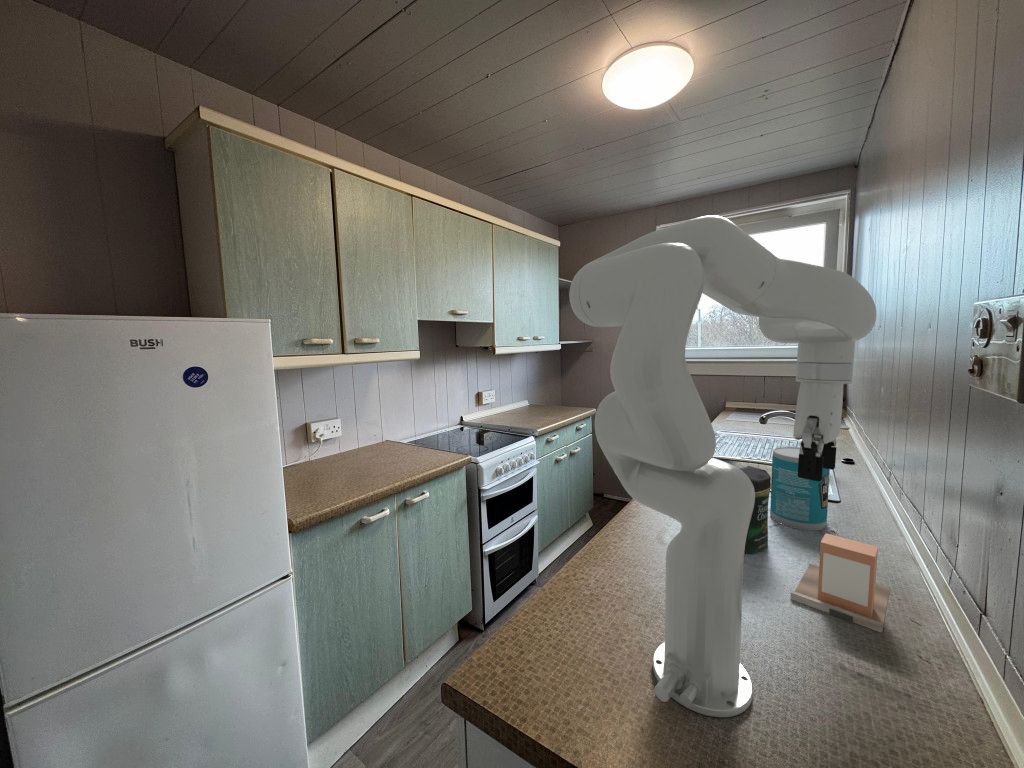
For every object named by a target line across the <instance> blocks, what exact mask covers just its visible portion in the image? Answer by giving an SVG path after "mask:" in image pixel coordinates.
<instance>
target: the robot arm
mask: <svg viewBox="0 0 1024 768" xmlns="http://www.w3.org/2000/svg"><path fill="white" fill-rule="evenodd" d="M568 294H569V295H568V296H569V303H570V307H571V309H572V311H573V313H574V315H575V316H576V317H577V318H578V320H580V321H581V322H582V323H584V324H586V325H588V326H591V327H595V328H611V327H621V329H620V332H619V336H618V339H617V340H616V344H615V347H614V349H613V353H612V357H611V361H610V365H609V366H610V368H609V369H610V370H609V374H610V375H609V376H610V380H611V383H612V387H613V389H614V391H612V392H611V393H609V394H607V395H606V396H605V397H603V399H602V400H601V401H600V403H599V405H598V406H597V409H596V412H595V416H594V431H595V437H596V440H597V443H598V444H599V445H598V446H599V447H600V449H601V451H602V453H603V455H604V456H605V458H606V460H607V461H608V464H609V465H610V467H611V468H612V470H613V472H614V473H615V475H616V476H617V478H618V480H619V481H620V484H621V486H622V487H623V488H624V490H625V491H626V492H627V494H628V495H629V496H630V497H631V498H632V499H633V500H634V501H636V502H637V503H638V504H640V505H643V506H644V507H647V508H649V509H652V510H654V511H655V512H657V513H661V514H663V515H665V516H667V517H669V518H671V519H673V520H675V521H677V522H678V523H680V526H681V528H680V531H679V532H678V533H677V534H676V535H675V536H674V537H673V538H672V539H671V540H670V542H669V543H668V545H667V547H666V552H665V579H664V580H665V586H664V591H665V592H664V593H665V594H664V599H665V600H664V641H663V642H662V643H661V644H659V646H658V647H657V648H655V650H654V653H653V656H652V657H653V658H652V669H653V674H654V677H655V678H656V679H655V680H656V681H657V683H656V685H655V686H654V693H655V696H656V697H657V698H658V700H660V701H661V702H664V703H667V702H669V700H670V699H671V698H672V699H673V700H674V701H676V702H677V703H679V704H680V705H682V706H684V707H685V708H687V709H688V710H691V711H694V712H696V713H698V714H701V715H704V716H708V717H714V718H730V717H735V716H738V715H741V714H742V713H744V712H745V711H746V710H747V709H749V707H750V706H751V703H752V700H753V684H752V680H751V677H750V675H749V673H748V672H747V670H746V669H745V668H744V666H743V665H742V664H741V641H742V616H743V614H742V613H743V612H742V611H743V609H742V608H743V589H744V588H743V585H744V583H743V578H744V559H745V558H744V557H745V554H744V550H745V542H746V537H747V532H748V528H749V524H750V520H751V516H752V512H753V508H754V503H755V491H754V486H753V484H752V482H751V480H750V479H749V477H748V476H747V475H746V474H745V473H744V472H743V471H742V470H740V469H739V468H738V467H737V466H735V465H733V464H731V463H728V462H726V461H724V460H721V459H719V458H714V455H715V453H716V452H715V451H716V445H717V441H716V434H715V430H714V428H713V425H712V421H711V419H710V417H709V414H708V412H707V409H706V407H705V405H704V403H703V401H702V399H701V396H700V394H699V392H698V389H697V387H696V385H695V383H694V381H693V378H692V375H691V373H690V370H689V367H688V364H687V361H686V345H687V341H688V337H689V333H690V329H691V326H692V323H693V320H694V317H695V314H696V312H697V308H698V307H699V303H700V301H701V298H702V295H704V296H706V297H708V298H710V299H712V300H713V301H714V302H717V303H719V304H721V306H723V307H725V308H727V309H729V310H730V311H732V312H734V313H735V314H736V313H737V314H739V315H743V316H750V317H756V318H758V327H759V329H760V332H761V333H762V335H763V336H764V337H765V338H766V339H768V340H769V341H771V342H774V343H779V344H797V354H796V355H797V356H796V357H797V358H796V370H795V371H796V372H795V373H796V374H795V382H797V383H800V384H799V389H798V393H797V400H796V408H795V415H794V424H793V425H794V426H793V438H794V440H796V441H799V440H801V441H800V443H799V444H800V446H799V448H800V450H799V461H798V477H799V478H803V479H808V480H813V481H821V480H822V474H823V468H825V469H830V471H831V470H832V471H833V470H835V469H836V461H837V460H836V459H837V447H836V446H837V438H838V437H839V436H840V432H841V425H842V417H843V416H842V415H843V402H844V401H843V400H844V385H851V384H853V373H854V362H855V350H856V341H859V340H861V339H863V338H865V337H866V336H868V335H869V334H870V332H871V331H872V330H873V328H874V327H875V324H876V320H877V308H876V307H877V306H876V304H875V301H874V299H873V297H872V295H871V293H869V291H868V290H867V289H866V288H865V286H863V285H862V284H861V283H860V282H859V281H858V280H857V279H856V278H855V277H853V276H852V275H850V274H849V273H846V272H843V271H841V270H838V269H834V268H830V267H827V266H826V267H825V266H821V265H815V264H810V263H807V262H806V263H805V262H801V261H797V260H791V259H785V258H779V257H777V256H776V255H774V254H773V253H772V252H771V251H770V250H768V249H767V248H766V247H764V246H763V245H762V244H760V242H759V241H757V240H755V238H753V237H752V236H750V235H749V234H748V233H747V232H745V231H744V230H743V229H741V228H740V227H739V226H738V225H736V224H735V222H733V221H731V220H730V219H728V218H726V217H723V216H720V215H713V214H712V215H703V216H699V217H695V218H692V219H688V220H685V221H682V222H679V223H675V224H673V225H670V226H667V227H663V228H660V229H656V230H655V231H651V232H649V233H647V234H645V235H643V236H640V237H638V238H637V239H634V240H632V241H630V242H628V243H626V244H625V245H622V246H621V247H619V248H616V249H615V250H612V251H611V252H610V251H609V252H608V253H607V254H604V255H603V256H601V257H599V258H596V259H594V260H592V261H590V262H589V263H586V264H584V265H583V266H582V267H581V268H580V269H579V270H578V271H577V272H576V274H575V275H574V277H573V278H572V281H571V284H570V286H569V293H568Z"/></svg>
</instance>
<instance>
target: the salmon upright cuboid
mask: <svg viewBox="0 0 1024 768" xmlns="http://www.w3.org/2000/svg"><path fill="white" fill-rule="evenodd" d="M819 544H820V545H819V546H820V551H819V565H818V566H819V582H818V600H820V601H823V602H825V603H828V604H831V605H834V606H837V607H839V608H842V609H845V610H848V611H851V612H853V613H856V614H859V615H862V616H865V617H867V618H870V619H871V618H872V614H873V610H874V598H875V584H877V582H876V580H877V579H876V578H877V565H878V555H879V553H878V552H879V551H878V550H879V547H878V546H877V545H874V544H873V545H872V544H870V543H869V544H868V543H864V542H862V541H859V540H858V541H857V540H854V539H849V538H846V537H842V536H838V535H833V534H830V533H827V532H825V534H824V535H823V537H822V538H821V540H820V543H819Z"/></svg>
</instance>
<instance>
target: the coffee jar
mask: <svg viewBox="0 0 1024 768" xmlns="http://www.w3.org/2000/svg"><path fill="white" fill-rule="evenodd" d="M739 469H740V470H742V471H743V472H744V473H745V474H746V475H747V476H748V477H749V479H750V480H751V482H752V484H753V486H754V491H755V503H754V508H753V512H752V516H751V520H750V524H749V528H748V532H747V537H746V542H745V550H744V555H756V554H759V553H762V552H764V551H765V550H766V549H768V547H769V529H768V528H769V525H768V524H769V499H770V495H771V479H772V476H771V475H770V473H769V472H768V471H767V470H766V469H763V468H758V467H756V466H755V467H754V466H750V465H748V466H744V467H740V468H739Z"/></svg>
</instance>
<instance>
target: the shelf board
mask: <svg viewBox="0 0 1024 768" xmlns="http://www.w3.org/2000/svg"><path fill="white" fill-rule="evenodd" d="M818 582H819V565H815V564H813V563H809V564H808V566H807V568H806V570H805V572H804V573H803V574H802V577H801V579H800V580H799V583H798V584H797V586H796V588H795V590H791V591H790V600H791V601H794V602H796V603H797V602H798V603H800V604H802V605H804V606H808V607H810V608H813V609H815V610H818V611H821V612H823V613H827V614H828V615H831V616H833V617H836V618H837V619H838V618H839V619H841V620H843V621H846V622H848V623H849V622H850V623H854V624H856V625H859V626H862V627H865V628H867V629H870V630H872V631H875V632H877V633H880V634H883V629H884V624H885V618H886V614H887V613H886V611H887V608H888V601H889V596H890V590H891V588H890V587H887V586H883V585H880V584H877V583H875V598H874V610H873V614H872V618H871V619H870V618H867V617H865V616H862V615H859V614H856V613H853V612H851V611H848V610H845V609H842V608H839V607H837V606H834V605H831V604H828V603H825V602H823V601H820V600H818Z"/></svg>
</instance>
